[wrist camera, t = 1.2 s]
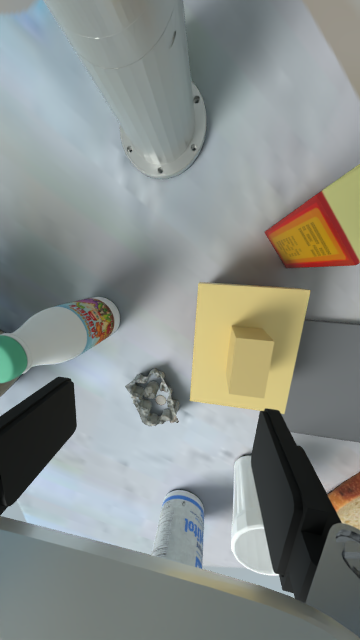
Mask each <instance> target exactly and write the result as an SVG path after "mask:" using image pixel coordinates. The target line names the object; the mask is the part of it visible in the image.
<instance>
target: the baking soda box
mask: <svg viewBox="0 0 360 640" xmlns="http://www.w3.org/2000/svg"><path fill="white" fill-rule="evenodd" d="M265 234H266V236H267V237H268V239H269V241H270V242H271V244H272V246H273V247H274V249H275V250H276V252H277V254H278V255H279V257H280V259H281V260H282V262H283V264H284V265H285V267H286V268H300V267H324V266H349V265H357V264H359V263H360V164H359V165H358V166H356V167H355V168H353V169H352V170H351V171H349V172H348V173H346V174H345V175H343V176H342V177H341V178H339V179H338V180H336V181H335V182H334V183H332V184H331V185H329V186H328V187H326V188H325V189H324V190H322V191H321V192H319V193H318V194H316V195H315V196H314V197H312V198H311V199H310V200H308V201H307V202H305V203H304V204H303V205H301V206H300V207H299V208H297V209H296V210H294V211H293V212H292V213H290V214H289V215H287V216H286V217H285V218H283V219H282V220H281V221H279V222H278V223H276V224H275V225H274V226H272V227H271V228H270V229H268V230H267V231H265Z"/></svg>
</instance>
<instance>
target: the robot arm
mask: <svg viewBox="0 0 360 640" xmlns="http://www.w3.org/2000/svg"><path fill="white" fill-rule="evenodd" d="M43 1H44V2H45V4H46V5H47V7H48V8H49V10H50V12H51V13H52V15H53V16H54V18H55V20H56V21H57V23H58V25H59V26H60V28H61V29H62V31H63V33H64V34H65V36H66V37H67V39H68V41H69V42H70V44H71V46H72V47H73V49H74V51H75V52H76V54H77V56H78V57H79V59H80V60H81V62H82V64H83V65H84V67H85V68H86V70H87V72H88V73H89V75H90V77H91V78H92V80H93V81H94V83H95V85H96V86H97V88H98V90H99V91H100V93H101V94H102V96H103V98H104V99H105V101H106V102H107V104H108V106H109V107H110V109H111V111H112V112H113V114H114V115H115V117H116V119H117V120H118V122H119V123H120V137H121V141H122V145H123V148H124V150H125V153H126V155H127V157H128V158H129V160H130V161H131V162H132V164H133V165H134V166H135V167H136V168H137V169H138V170H139V171H140V172H141V173H143V174H145V175H146V176H148V177H152V178H155V179H167V178H172V177H175V176H177V175H179V174H181V173H182V172H184V171H185V170H186V169H188V168H189V167H190V166H191V165H192V164H193V162H194V161H195V159H196V158H197V157H198V155H199V153H200V151H201V149H202V146H203V143H204V140H205V135H206V108H205V105H204V101H203V98H202V96H201V93H200V91H199V89H198V88H197V87H196V85H195V84H194V83H193V81H192V80H191V73H190V64H189V54H188V44H187V34H186V24H185V15H184V5H183V0H43ZM196 103H197V104H196ZM194 149H195V151H193V150H194ZM131 151H132V152H131ZM161 172H163V173H162V174H160V173H161ZM76 426H77V423H76V409H75V394H74V383H73V382H72V381H71V379H70V378H64V377H57V378H55V379H54V380H52V381H51V382H50V383H48V384H47V385H45V386H44V387H42V388H41V389H39V390H38V391H36V392H35V393H34V394H32V395H31V396H29V397H28V398H26V399H25V400H23V401H22V402H20V403H19V404H18V405H16V406H15V407H13V408H12V409H10V410H9V411H7V412H6V413H4V414H3V415H2V416H0V515H1V514H2V513H3V512H4V511H5V509H6V508H7V507H8V506H11V505H12V504H13V503H14V502H15V501H16V500H17V499H18V498H19V497H20V496H21V494H22V493H23V492H24V491H25V490H26V489H27V487H28V486H29V485H30V484H31V483H32V481H33V480H34V479H35V478H36V477H37V476H38V474H39V473H40V472H41V471H42V470H43V469H44V467H45V466H46V465H47V464H48V463H49V461H50V460H51V459H52V458H53V457H54V456H55V454H56V453H57V452H58V451H59V450H60V449H61V447H62V446H63V445H64V444H65V443H66V441H67V440H68V439H69V438H70V437H71V436H72V434H73V433H74V432H75V430H76ZM251 467H252V472H253V477H254V482H255V487H256V492H257V496H258V501H259V506H260V511H261V516H262V520H263V525H264V530H265V535H266V540H267V544H268V549H269V554H270V559H271V564H272V568H273V571H274V573H275V574H279V576H280V581H281V585H282V590H284V591H288V592H291V593H294V596H295V598H292V597H290V596H288V595H285V594H282V593H279V592H276V591H274V590H271V589H268V588H265V587H262V586H259V585H256V584H253V583H249V582H246V581H242V580H239V579H235V578H232V577H229V576H225V575H222V574H218V573H215V572H212V571H208V570H204V569H201V568H197V567H193V566H190V565H186V564H182V563H178V562H175V561H171V560H167V559H163V558H160V557H156V556H152V555H149V554H145V553H141V552H137V551H134V550H130V549H126V548H122V547H118V546H115V545H111V544H107V543H103V542H99V541H95V540H92V539H88V538H84V537H80V536H76V535H72V534H69V533H65V532H61V531H57V530H53V529H49V528H45V527H41V526H37V525H34V524H30V523H26V522H22V521H17V520H14V519H10V518H6V517H1V516H0V640H360V530H359V529H357V528H355V527H353V526H351V525H348V524H343V523H342V522H341V520H340V518H339V516H338V514H337V512H336V511H335V509H334V507H333V505H332V503H331V501H330V499H329V497H328V495H327V493H326V491H325V489H324V488H323V486H322V484H321V482H320V480H319V478H318V476H317V474H316V472H315V470H314V468H313V466H312V465H311V463H310V461H309V459H308V457H307V455H306V453H305V451H304V450H303V448H302V447H300V446H297V445H296V443H295V441H294V439H293V437H292V435H291V433H290V431H289V429H288V427H287V425H286V423H285V421H284V419H283V417H282V415H281V413H280V411H279V410H274V409H268V408H265V410H264V411H260V414H259V419H258V424H257V429H256V435H255V440H254V445H253V450H252V455H251Z"/></svg>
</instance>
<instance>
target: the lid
mask: <svg viewBox="0 0 360 640" xmlns="http://www.w3.org/2000/svg"><path fill="white" fill-rule="evenodd" d="M310 291H311V290H306V289H301V288H287V287H271V286H254V285H238V284H222V283H205V282H199V283H198V297H197V310H196V324H195V338H194V351H193V365H192V378H191V392H190V401H195V402H202V403H209V404H216V405H223V406H231V407H238V408H245V409H252V410H259V411H264V410H265V408H268V409H274V410H279V411H280V413H281V414H285V409H286V404H287V400H288V395H289V390H290V385H291V381H292V376H293V371H294V366H295V362H296V357H297V352H298V348H299V343H300V338H301V333H302V329H303V324H304V319H305V314H306V310H307V305H308V300H309V296H310Z"/></svg>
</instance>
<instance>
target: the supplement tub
mask: <svg viewBox="0 0 360 640" xmlns="http://www.w3.org/2000/svg"><path fill="white" fill-rule="evenodd" d="M203 533H204V507H203V504H202V502H201V501H200V499H199V498H198V497H197V496H195V495H194V494H192V493H190V492H188V491H184V490H175V491H172V492H170V493H168V494H167V495H166V497H165V498H164V501H163V505H162V509H161V514H160V518H159V523H158V527H157V532H156V536H155V541H154V545H153V550H152V554H151V555H152V556H156V557H160V558H163V559H167V560H171V561H175V562H178V563H182V564H186V565H190V566H193V567H197V568H201V569H202V558H203Z"/></svg>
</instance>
